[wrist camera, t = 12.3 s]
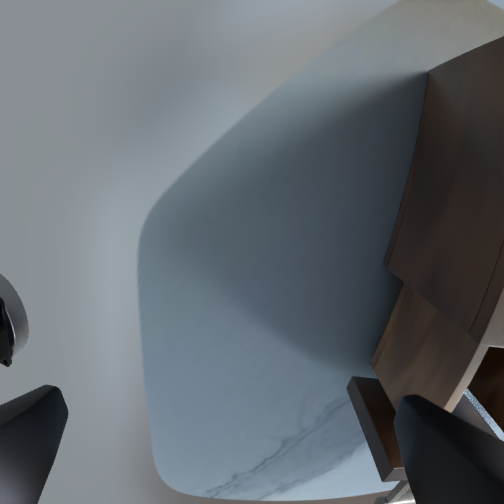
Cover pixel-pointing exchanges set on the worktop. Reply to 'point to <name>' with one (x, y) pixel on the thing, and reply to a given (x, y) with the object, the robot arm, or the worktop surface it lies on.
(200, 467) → the worktop surface
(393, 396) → the drawer
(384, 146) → the worktop surface
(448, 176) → the storage box
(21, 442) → the robot arm
